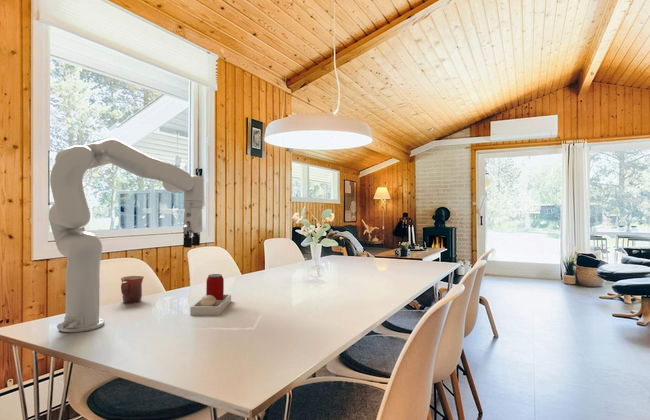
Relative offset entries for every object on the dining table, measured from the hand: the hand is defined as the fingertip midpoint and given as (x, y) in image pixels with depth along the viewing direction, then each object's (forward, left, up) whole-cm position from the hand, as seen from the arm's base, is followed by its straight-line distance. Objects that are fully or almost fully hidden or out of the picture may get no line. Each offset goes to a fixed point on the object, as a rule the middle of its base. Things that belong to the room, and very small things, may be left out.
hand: (191, 246), depth 155 cm
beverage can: (-3, -10, -24) cm, 26 cm away
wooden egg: (-13, -11, -23) cm, 29 cm away
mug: (+3, +26, -24) cm, 36 cm away
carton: (-8, -11, -24) cm, 27 cm away
